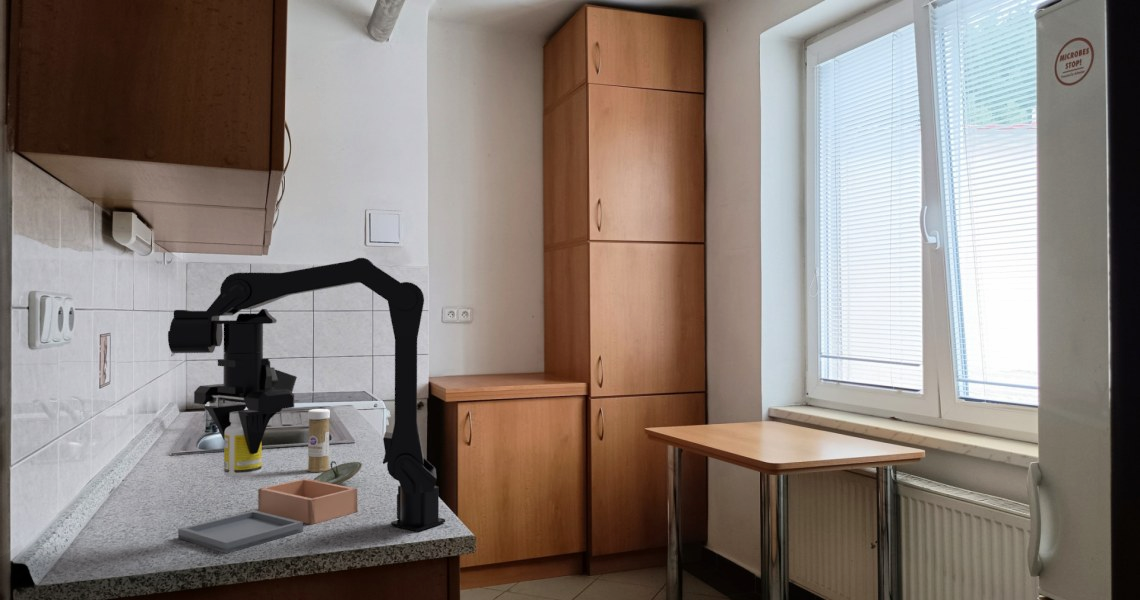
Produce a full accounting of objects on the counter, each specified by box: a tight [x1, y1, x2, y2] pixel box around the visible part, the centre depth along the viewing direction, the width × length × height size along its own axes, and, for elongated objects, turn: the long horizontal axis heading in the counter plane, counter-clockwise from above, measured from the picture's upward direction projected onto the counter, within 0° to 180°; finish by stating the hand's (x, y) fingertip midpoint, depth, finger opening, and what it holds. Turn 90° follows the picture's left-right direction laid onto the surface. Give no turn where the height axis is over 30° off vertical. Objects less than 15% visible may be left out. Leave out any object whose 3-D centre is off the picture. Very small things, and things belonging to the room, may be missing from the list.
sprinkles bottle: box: [307, 408, 331, 473], centre depth 166 cm, size 5×5×13 cm
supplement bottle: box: [223, 411, 263, 478], centre depth 119 cm, size 5×5×10 cm
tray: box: [177, 509, 304, 554], centre depth 118 cm, size 13×13×2 cm
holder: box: [257, 478, 358, 525], centre depth 132 cm, size 15×10×4 cm, turn 56°
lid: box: [313, 460, 363, 485], centre depth 152 cm, size 11×10×5 cm
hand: (243, 451), depth 119 cm, fingers closed on supplement bottle, 5 cm apart
